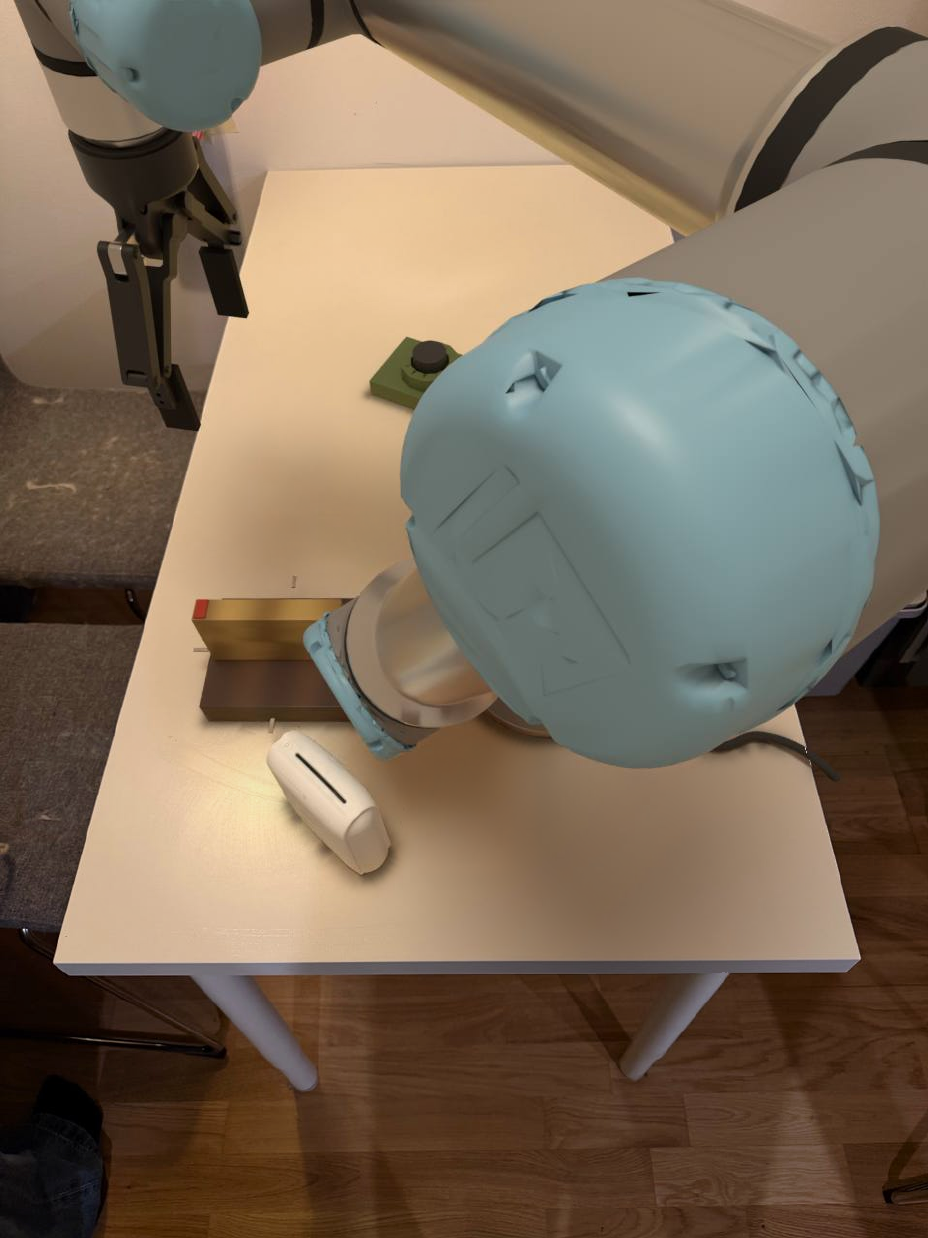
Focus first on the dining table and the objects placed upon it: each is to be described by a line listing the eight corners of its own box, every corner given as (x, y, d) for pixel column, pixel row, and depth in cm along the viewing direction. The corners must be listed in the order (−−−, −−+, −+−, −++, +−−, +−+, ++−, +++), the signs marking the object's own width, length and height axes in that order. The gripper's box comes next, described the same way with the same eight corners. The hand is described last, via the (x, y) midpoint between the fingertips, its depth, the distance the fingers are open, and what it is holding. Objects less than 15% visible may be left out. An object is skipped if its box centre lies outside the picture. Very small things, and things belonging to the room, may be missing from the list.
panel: (383, 593, 86) (380, 575, 84) (370, 747, 77) (366, 732, 74) (218, 593, 87) (209, 575, 84) (186, 746, 78) (175, 732, 75)
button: (452, 357, 100) (452, 345, 99) (436, 378, 98) (435, 366, 97) (423, 348, 101) (422, 336, 100) (407, 368, 99) (405, 356, 98)
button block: (492, 378, 103) (492, 352, 100) (458, 425, 99) (456, 399, 96) (407, 350, 107) (404, 323, 103) (371, 394, 102) (367, 368, 99)
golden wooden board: (352, 640, 80) (341, 597, 74) (350, 660, 79) (338, 618, 73) (217, 640, 80) (195, 597, 74) (213, 660, 79) (190, 618, 73)
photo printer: (284, 804, 74) (250, 747, 64) (321, 771, 76) (293, 710, 66) (362, 885, 70) (339, 838, 60) (399, 848, 72) (383, 796, 62)
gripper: (137, 13, 60) (213, 268, 79) (-18, 231, 48) (114, 473, 66) (238, 22, 60) (290, 277, 78) (107, 246, 47) (206, 485, 66)
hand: (210, 367), depth 72 cm, fingers open, 13 cm apart
